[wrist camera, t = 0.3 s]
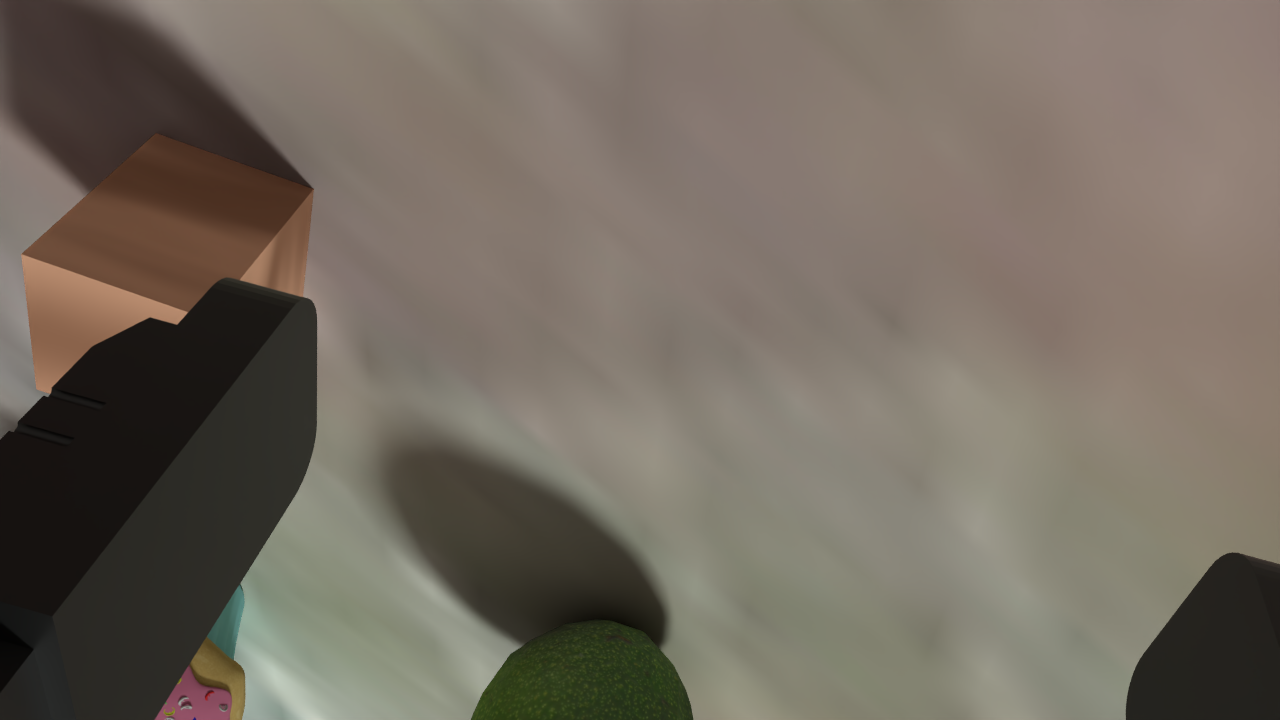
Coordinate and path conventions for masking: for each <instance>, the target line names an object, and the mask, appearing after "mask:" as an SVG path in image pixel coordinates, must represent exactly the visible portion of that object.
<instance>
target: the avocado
mask: <svg viewBox="0 0 1280 720" xmlns="http://www.w3.org/2000/svg"><path fill="white" fill-rule="evenodd" d="M471 720H693V715H692V709H691V704H690V701H689V698H688V695H687V692H686V689H685V687H684V685H683V683H682V681H681V679H680V677H679V675H678V673H677V671H676V669H675V667H674V665H673V664H672V663H671V662H670V660H669V659H668V658H667V657H666V656H665V655H664V654H663V653H662V651H661V650H660V649H659V648H658V647H657V646H656V645H655V644H654V643H653V641H652V640H651V639H650V638H649V637H648V636H647V635H646V634H645V633H644V632H643V631H640V630H637V629H634V628H631V627H628V626H625V625H622V624H619V623H616V622H613V621H610V620H590V621H583V622H576V623H568V624H564V625H562V626H560V627H558V628H556V629H554V630H552V631H550V632H548V633H545V634H543V635H541V636H539V637H537V638H535V639H533V640H531V641H530V642H528V643H527V644H525V645H524V646H522V647H521V648H519V649H518V650H516V651H515V652H513V653H512V654H510V656H509V657H508V658H507V660H506V661H505V663H504V664H503V665H502V667H501V668H500V670H499V671H498V672H497V674H496V675H495V677H494V678H493V679H492V681H491V682H490V684H489V685H488V686H487V688H486V689H485V691H484V692H483V694H482V696H481V698H480V700H479V702H478V704H477V707H476V709H475V711H474V713H473V716H472V718H471Z"/></svg>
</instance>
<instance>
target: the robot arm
mask: <svg viewBox="0 0 1280 720" xmlns="http://www.w3.org/2000/svg"><path fill="white" fill-rule="evenodd" d="M316 427H317V314H316V308H315V306H314V303H313V302H312V301H311V300H310V299H308V298H304V297H300V296H297V295H293V294H289V293H286V292H282V291H278V290H274V289H271V288H267V287H263V286H260V285H256V284H252V283H249V282H245V281H241V280H237V279H234V278H228V277H226V278H223V279H220V280H219V281H217V282H216V283H215V284H214V285H213V286H212V287H211V288H210V289H209V290H208V291H207V292H206V293H205V294H204V295H203V297H202V298H201V299H200V300H199V301H198V302H197V303H196V304H195V305H194V307H193V308H192V309H191V310H190V311H189V312H188V313H187V314H186V315H185V316H184V318H183V319H182V320H181V321H180V322H179V323H178V324H173V323H169V322H166V321H162V320H158V319H155V318H151V317H149V318H147V319H145V320H143V321H141V322H139V323H137V324H135V325H133V326H131V327H129V328H127V329H125V330H123V331H122V332H120V333H118V334H116V335H114V336H112V337H110V338H108V339H106V340H104V341H102V342H100V343H98V344H96V345H94V346H92V347H91V348H90V349H89V350H88V351H87V352H86V353H85V354H84V355H83V356H82V357H81V358H80V359H79V360H78V361H77V362H76V363H75V364H74V365H73V366H72V367H71V368H70V369H69V370H68V371H67V372H66V373H65V374H64V375H63V376H62V377H61V378H60V379H59V381H58V382H57V383H56V384H55V385H54V386H53V387H52V390H51V394H50V395H49V397H46V396H43V397H42V398H41V399H40V400H39V401H38V402H37V403H36V404H35V405H34V406H33V407H32V408H31V409H30V410H29V411H28V412H27V413H26V414H25V415H24V416H23V417H22V418H21V419H20V420H19V421H18V426H17V429H16V430H15V432H11V431H8V432H7V433H6V435H5V436H4V437H3V438H2V439H1V440H0V720H155V718H156V717H157V715H158V714H159V712H160V710H161V709H162V707H163V706H164V704H165V702H166V701H167V699H168V698H169V696H170V694H171V693H172V691H173V690H174V688H175V686H176V685H177V683H178V682H179V680H180V678H181V677H182V675H183V674H184V672H185V671H186V669H187V667H188V666H189V664H190V663H191V661H192V659H193V658H194V656H195V655H196V653H197V651H198V650H199V648H200V647H201V645H202V643H203V642H204V640H205V639H206V637H207V635H208V634H209V632H210V631H211V629H212V627H213V626H214V624H215V623H216V621H217V619H218V618H219V616H220V615H221V613H222V611H223V610H224V608H225V607H226V605H227V603H228V602H229V600H230V599H231V597H232V595H233V594H234V592H235V591H236V589H237V587H238V586H239V584H240V583H241V581H242V580H243V578H244V576H245V575H246V573H247V572H248V570H249V568H250V567H251V565H252V564H253V562H254V560H255V559H256V557H257V556H258V554H259V552H260V551H261V549H262V548H263V546H264V544H265V543H266V541H267V540H268V538H269V536H270V535H271V533H272V532H273V530H274V528H275V527H276V525H277V524H278V522H279V520H280V519H281V517H282V516H283V514H284V512H285V511H286V509H287V508H288V506H289V504H290V503H291V501H292V500H293V498H294V496H295V495H296V493H297V491H298V489H299V487H300V485H301V483H302V481H303V479H304V476H305V474H306V471H307V468H308V466H309V462H310V459H311V456H312V452H313V448H314V443H315V437H316ZM1126 720H1280V564H1277V563H1273V562H1269V561H1266V560H1262V559H1258V558H1255V557H1251V556H1247V555H1244V554H1240V553H1233V552H1232V553H1228V554H1225V555H1223V556H1221V557H1220V558H1219V559H1218V560H1216V561H1215V562H1214V563H1213V564H1212V566H1211V567H1210V568H1209V569H1208V571H1207V572H1206V573H1205V574H1204V576H1203V577H1202V578H1201V580H1200V581H1199V582H1198V584H1197V585H1196V586H1195V587H1194V589H1193V590H1192V591H1191V593H1190V594H1189V595H1188V597H1187V598H1186V599H1185V601H1184V602H1183V603H1182V604H1181V606H1180V607H1179V608H1178V610H1177V611H1176V612H1175V614H1174V615H1173V616H1172V617H1171V619H1170V620H1169V621H1168V623H1167V624H1166V625H1165V627H1164V628H1163V629H1162V630H1161V632H1160V633H1159V634H1158V636H1157V637H1156V638H1155V640H1154V641H1153V642H1152V644H1151V645H1150V646H1149V647H1148V649H1147V650H1146V651H1145V653H1144V654H1143V655H1142V657H1141V658H1140V660H1139V662H1138V664H1137V666H1136V668H1135V670H1134V673H1133V676H1132V679H1131V682H1130V686H1129V690H1128V695H1127V703H1126Z"/></svg>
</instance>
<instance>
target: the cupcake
mask: <svg viewBox="0 0 1280 720" xmlns="http://www.w3.org/2000/svg"><path fill="white" fill-rule="evenodd" d="M243 608H244V594H243V591H242V589H241V586H240V584H239V586H238V587H237V589H236V591H235V592H234V594H233V595H232V597H231V599H230V600H229V602H228V603H227V605H226V607H225V608H224V610H223V611H222V613H221V615H220V616H219V618H218V619H217V621H216V623H215V624H214V626H213V627H212V629H211V631H210V632H209V634H208V635H207V637H206V639H205V640H204V642H203V643H202V645H201V647H200V648H199V650H198V651H197V653H196V655H195V656H194V658H193V659H192V661H191V663H190V664H189V666H188V667H187V669H186V671H185V672H184V674H183V675H182V677H181V678H180V680H179V682H178V683H177V685H176V686H175V688H174V690H173V691H172V693H171V694H170V696H169V698H168V699H167V701H166V702H165V704H164V706H163V707H162V709H161V710H160V712H159V714H158V715H157V717H156V718H155V720H242V716H243V712H244V707H245V674H244V670H243V668H242V667H241V666H240V665H239V664H238V663H237V662H236V661H234V653H235V646H236V641H237V635H238V630H239V626H240V621H241V617H242V612H243Z"/></svg>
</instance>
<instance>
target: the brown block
mask: <svg viewBox="0 0 1280 720" xmlns="http://www.w3.org/2000/svg"><path fill="white" fill-rule="evenodd" d="M313 192H314V189H312V188H309V187H306V186H304V185H301V184H298V183H295V182H292V181H289V180H287V179H284V178H281V177H278V176H275V175H273V174H270V173H267V172H264V171H261V170H258V169H256V168H253V167H250V166H247V165H244V164H241V163H239V162H236V161H233V160H230V159H227V158H225V157H222V156H219V155H216V154H213V153H210V152H208V151H205V150H202V149H199V148H196V147H194V146H191V145H188V144H185V143H182V142H179V141H177V140H174V139H171V138H168V137H165V136H163V135H160V134H157V133H156V134H154V135H153V136H152V137H151V138H150V139H149V140H148V141H147V142H146V143H144V144H143V145H142V146H141V147H140V148H139V149H138V150H137V151H136V152H134V153H133V154H132V155H131V156H130V157H129V158H128V159H127V160H126V161H124V162H123V163H122V164H121V165H120V166H119V167H118V168H117V169H116V170H114V171H113V172H112V173H111V174H110V175H109V176H108V177H107V178H106V179H104V180H103V181H102V182H101V183H100V184H99V185H98V186H97V187H96V188H94V189H93V190H92V191H91V192H90V193H89V194H88V195H87V196H86V197H84V198H83V199H82V200H81V201H80V202H79V203H78V204H77V205H76V206H74V207H73V208H72V209H71V210H70V211H69V212H68V213H67V214H65V215H64V216H63V217H62V218H61V219H60V220H59V221H58V222H57V223H55V224H54V225H53V226H52V227H51V228H50V229H49V230H48V231H47V232H45V233H44V234H43V235H42V236H41V237H40V238H39V239H38V240H37V241H35V242H34V243H33V244H32V245H31V246H30V247H29V248H28V249H27V250H25V251H24V252H23V253H22V254H21V255H22V264H23V273H24V282H25V291H26V299H27V308H28V317H29V326H30V335H31V344H32V353H33V362H34V371H35V380H36V388H37V389H38V390H40V391H43V392H46V393H49V394H51V390H52V387H53V386H54V385H55V384H56V383H57V382H58V381H59V379H60V378H61V377H62V376H63V375H64V374H65V373H66V372H67V371H68V370H69V369H70V368H71V367H72V366H73V365H74V364H75V363H76V362H77V361H78V360H79V359H80V358H81V357H82V356H83V355H84V354H85V353H86V352H87V351H88V350H89V349H90V348H91V347H92V346H94V345H96V344H98V343H100V342H102V341H104V340H106V339H108V338H110V337H112V336H114V335H116V334H118V333H120V332H122V331H123V330H125V329H127V328H129V327H131V326H133V325H135V324H137V323H139V322H141V321H143V320H145V319H147V318H149V317H151V318H155V319H158V320H162V321H166V322H169V323H173V324H178V323H179V322H180V321H181V320H182V319H183V318H184V316H185V315H186V314H187V313H188V312H189V311H190V310H191V309H192V308H193V307H194V305H195V304H196V303H197V302H198V301H199V300H200V299H201V298H202V297H203V295H204V294H205V293H206V292H207V291H208V290H209V289H210V288H211V287H212V286H213V285H214V284H215V283H216V282H217V281H219V280H220V279H223V278H226V277H228V278H234V279H237V280H241V281H245V282H249V283H252V284H256V285H260V286H263V287H267V288H271V289H274V290H278V291H282V292H286V293H289V294H293V295H297V296H300V297H303V290H304V280H305V270H306V261H307V251H308V241H309V231H310V221H311V211H312V202H313Z"/></svg>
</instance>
